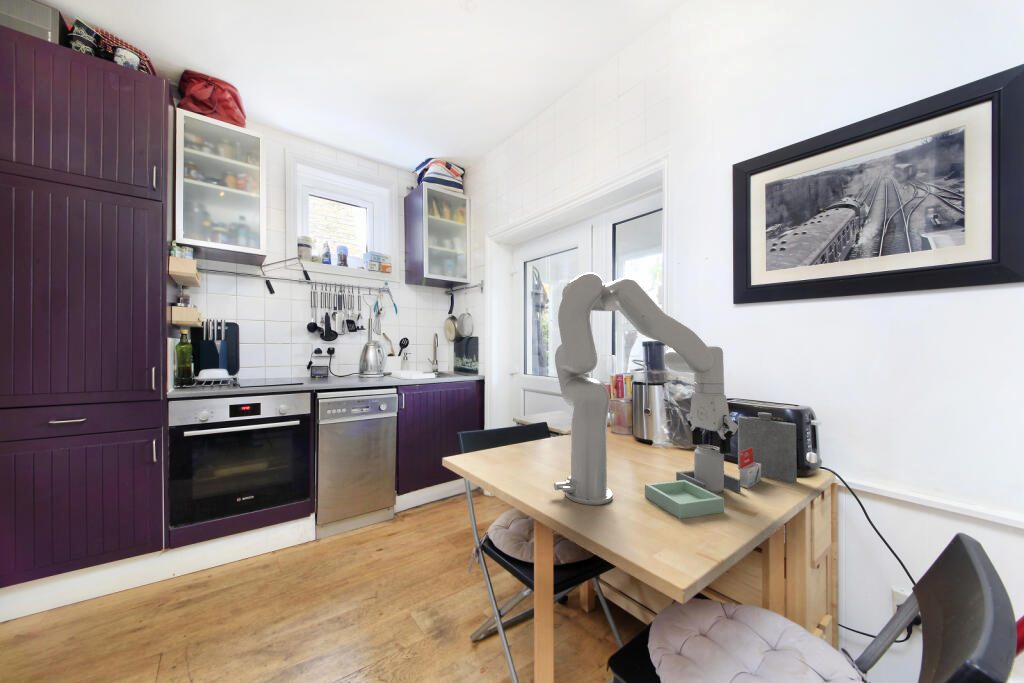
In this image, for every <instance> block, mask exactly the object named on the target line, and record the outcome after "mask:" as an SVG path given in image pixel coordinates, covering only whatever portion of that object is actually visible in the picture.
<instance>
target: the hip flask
mask: <svg viewBox="0 0 1024 683" xmlns="http://www.w3.org/2000/svg"><path fill="white" fill-rule="evenodd" d="M757 416H758V417H755V416H739V415H738V416H737V425H738V429H737V469H738V470H739V471H740V462H739V453H740V452H742V451H745V450H747V449H749V448H751V447H752V450H753V462H754V463H759V464H761V477H763V478H768V479H771V480H777V481H780V480H781V482H785V483H791V484H792V483H793V484H796V483H798V481H797V470H798V468H797V424H796V423H793V422H784V421H777V420H776V421H775V420H772V418H771V417H772V413H770V412H759V411H758V412H757ZM746 456H748V453H747V452H746V454H745V457H746Z"/></svg>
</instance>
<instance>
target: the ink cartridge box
mask: <svg viewBox="0 0 1024 683" xmlns="http://www.w3.org/2000/svg"><path fill="white" fill-rule="evenodd" d="M746 452H747V453H748V456H746V457H745V454H746ZM739 462H740V470H739V479H740V480H741V487H742V488H746V489H749V488H751V487H752V486H755V485H756V484H757V483H760V481H761V480H762V476H761V464H759V463H754V462H753V450H752V447H751V448H749V449H747V450H745V451H742V452H740V453H739Z"/></svg>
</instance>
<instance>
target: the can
mask: <svg viewBox="0 0 1024 683" xmlns="http://www.w3.org/2000/svg"><path fill="white" fill-rule="evenodd" d="M693 454H694V455H693V458H694V464H693V465H694V466H693V467H694V468H693V470H694V479H696V480H698V481H701V482H703V483H705V484H706V490H707V491H709V492H711V493H713V494H717V493H721V492H722V491H723V490H724V489H725V487H724V474H725V454H721V453H720V447H718V446H715V445H712V444H711V445H709V444H698V445H696V448H695V449H694V452H693Z"/></svg>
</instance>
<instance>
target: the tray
mask: <svg viewBox="0 0 1024 683" xmlns="http://www.w3.org/2000/svg"><path fill="white" fill-rule="evenodd" d="M644 497H645V498H647V499H648V500H650V501H651V502H653V503H654V504H657V506H659V507H661V508H663V509H664V510H666V511H667V512H669V513H671V514H672V515H674V516H676V517H677V518H679V519H686V518H693V517H699V516H707V515H712V514H713V515H714V514H719V513H724V512H725V499H724V497H722V496H720V495H717V493H711V492H709V491H707V490H705V489H703V488H701V487H699V486H696V485H694V484H692V483H690V482H688V481H686V480H679V481H676V480H672V481H670V480H669V481H664V482H653V483H652V482H651V483H645V484H644Z"/></svg>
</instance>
